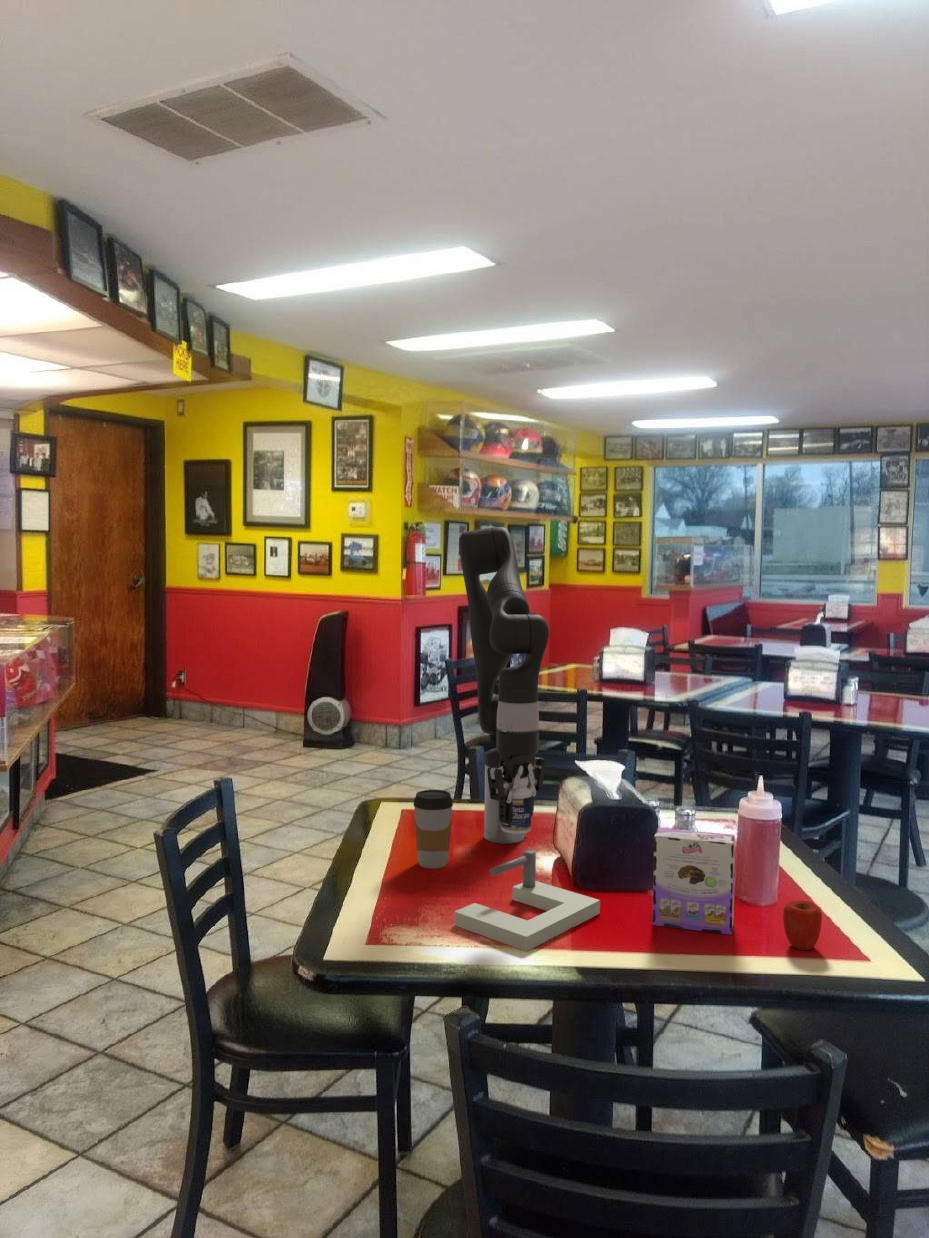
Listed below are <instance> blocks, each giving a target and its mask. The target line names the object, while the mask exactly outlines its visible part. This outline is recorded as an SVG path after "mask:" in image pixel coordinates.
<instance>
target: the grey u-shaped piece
mask: <svg viewBox="0 0 929 1238" xmlns="http://www.w3.org/2000/svg"><path fill="white" fill-rule="evenodd" d="M522 854H523V855H521V856H519V857H516V858H514V859H511V860H509V861H507V862H504V863H502V864H499V865H496V866H495V867H492V868H490V869H489V875H491V876H492V877H495V876H498V875H500V874H503V873H505V872H507V871H510V870H512V869H514V868H517V867H519V866H522V882H521V883H518V884H516V885H514V886H512V900H513V901H516V902H519V903H522V904H525V905H527V906H530V907H531V906H532V907H534V908H537V909H540V910H544V911H545V912H543V913H541V914H538V915H536V916H534V917H532V918H531V919H528V920H527V919H524V918H521V917H519V916H515V915H512V914H509V913H506V912H503V911H500V910H497V909H495V908H492V907H488V906H485V905H483V904H479V903H477V902H473V903H471V904H468V905H466V906H464V907H462V908H460V909H458V910H454V922H453V923H454V925H453V926H456V927H458V928H460V929H463V930H467V931H469V932H472V933H474V934H477V935H480V936H483V937H485V938H488V939H491V940H493V941H496V942H500V943H502V944H505V945H508V946H510V947H513V948H516V949H519V950H522V951H524V952H528V951H530V950H532V949H534V948H536V947H538V946H540V945H542V944H544V943H546V942H548V941H549V939H550V940H552V939H553V938H555V937H557V936H559V935H561V934H564V933H565V932H567V931H569V930H570V928H571V929H573V928H575V927H576V926H578V925H580V924H582V923H584V922H586V921H588V920H591V919H592V918H594V917H595V916H598V915H599V914H600V913H601V912H600V911H601V910H600V909H601V900H600V899H597V898H593V897H591V896H587V895H584V894H581V893H578V892H574V891H571V890H567V889H564V888H560V887H557V886H555V885H550V884H547V883H544V882H540V881H537V880H536V878H537V877H536V874H537V873H536V870H537V869H536V867H537V866H536V862H537V852H536V851H535V850H528V849H527V850H524V851H523V852H522ZM572 927H573V928H572ZM568 929H569V930H568ZM566 930H567V931H566ZM554 936H555V937H554Z"/></svg>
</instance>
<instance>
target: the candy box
mask: <svg viewBox="0 0 929 1238" xmlns="http://www.w3.org/2000/svg"><path fill="white" fill-rule="evenodd" d="M735 837H736V835H735V834H728V833H720V832H719V833H716V832H710V831H709V832H707V831H697V830H687V829H676V828H666V827H657V830H656V832H655V834H654V836H653V876H652V877H653V878H652V879H653V880H652V881H653V883H652V884H653V885H652V920H651V921H652V922H651V925H653V926H658V927H667V928H675V929H683V930H690V931H698V932H706V933H717V934H723V935H732V934H733V927H734V911H735V910H734V908H735V907H734V906H735V886H736V885H735V884H736V883H735V877H736V875H735V867H736V866H735V865H736V863H735V861H736V860H735V859H736V855H735V853H736V851H735V850H736V847H735V846H736V845H735V843H736V841H735V840H736V838H735Z"/></svg>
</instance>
